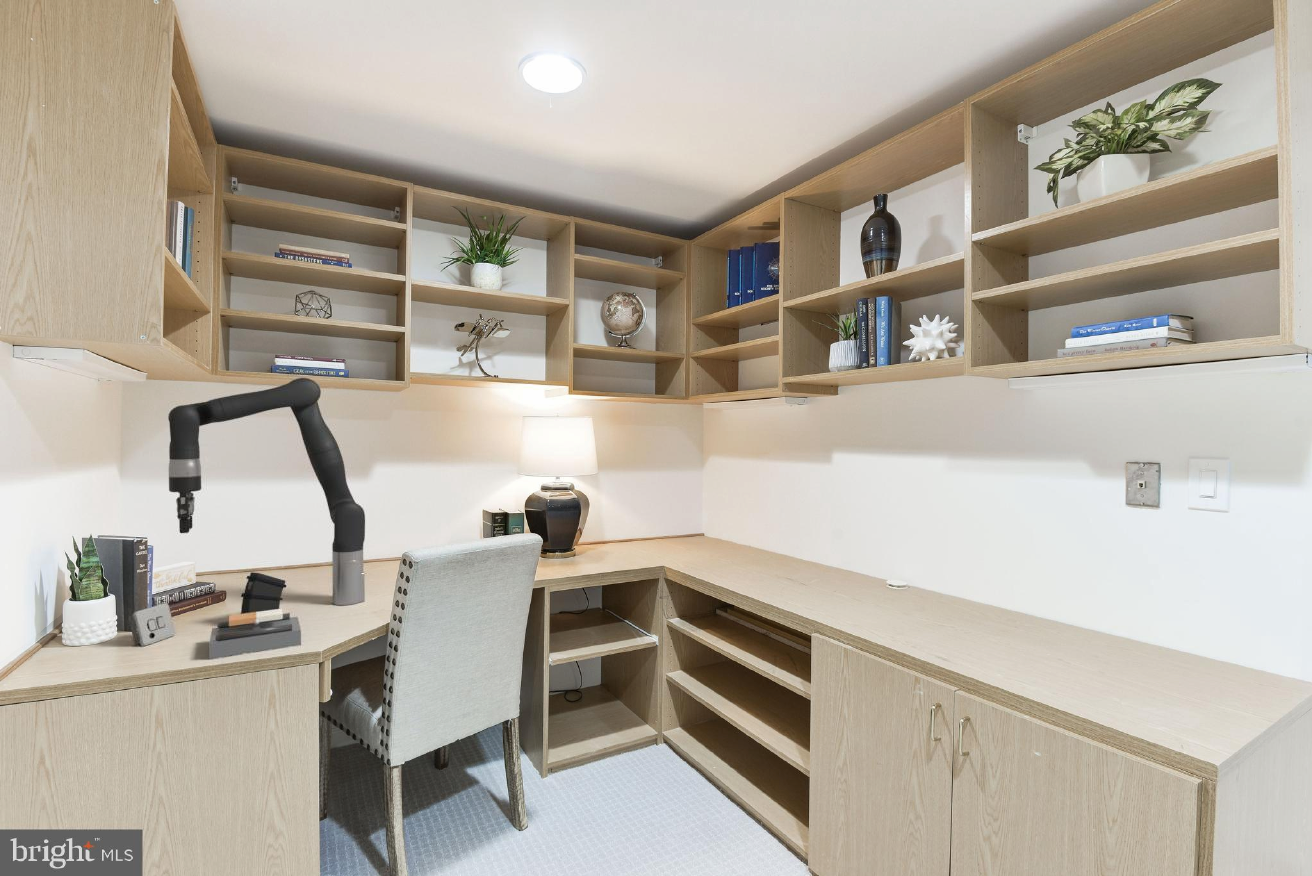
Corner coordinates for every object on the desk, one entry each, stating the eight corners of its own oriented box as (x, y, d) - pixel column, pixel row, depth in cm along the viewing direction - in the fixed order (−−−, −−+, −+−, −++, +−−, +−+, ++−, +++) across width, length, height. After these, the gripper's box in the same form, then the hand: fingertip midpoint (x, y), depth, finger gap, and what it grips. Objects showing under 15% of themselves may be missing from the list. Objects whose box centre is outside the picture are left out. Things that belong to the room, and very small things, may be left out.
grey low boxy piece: (297, 630, 182) (297, 611, 182) (301, 644, 170) (300, 624, 170) (212, 643, 171) (212, 622, 171) (209, 659, 159) (209, 637, 159)
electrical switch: (143, 647, 168) (140, 612, 168) (127, 647, 169) (124, 612, 169) (176, 635, 177) (173, 602, 177) (161, 636, 178) (158, 603, 178)
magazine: (228, 624, 182) (248, 571, 188) (265, 631, 194) (282, 581, 200) (239, 625, 181) (258, 572, 187) (274, 632, 193) (292, 582, 199)
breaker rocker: (281, 615, 176) (281, 608, 176) (282, 621, 171) (282, 613, 171) (229, 622, 170) (229, 615, 170) (228, 628, 165) (228, 621, 165)
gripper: (198, 475, 180) (199, 533, 180) (203, 472, 192) (204, 526, 192) (165, 477, 176) (166, 535, 176) (171, 473, 188) (173, 528, 188)
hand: (186, 530), depth 184 cm, fingers open, 8 cm apart
